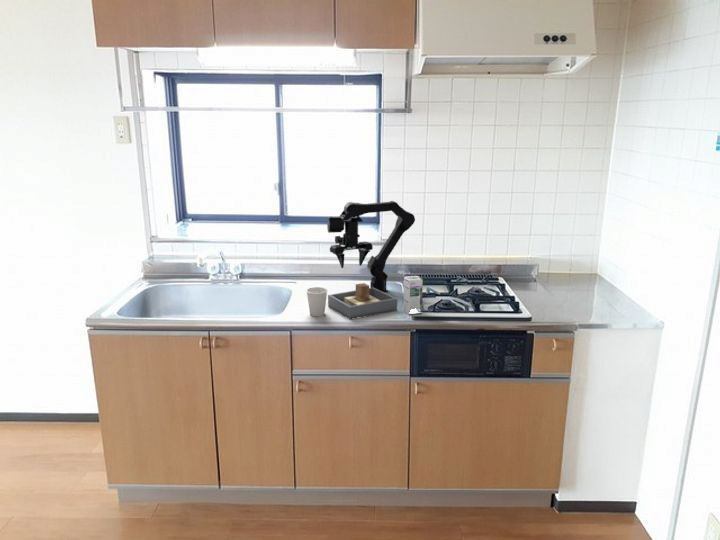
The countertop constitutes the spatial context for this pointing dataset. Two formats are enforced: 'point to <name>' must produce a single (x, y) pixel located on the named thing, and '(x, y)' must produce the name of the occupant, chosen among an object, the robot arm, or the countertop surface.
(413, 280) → the syrup box
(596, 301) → the countertop surface
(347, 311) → the charcoal tray
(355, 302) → the birch bore plate
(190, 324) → the countertop surface
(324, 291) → the dixie cup
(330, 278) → the countertop surface
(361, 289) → the walnut peg
